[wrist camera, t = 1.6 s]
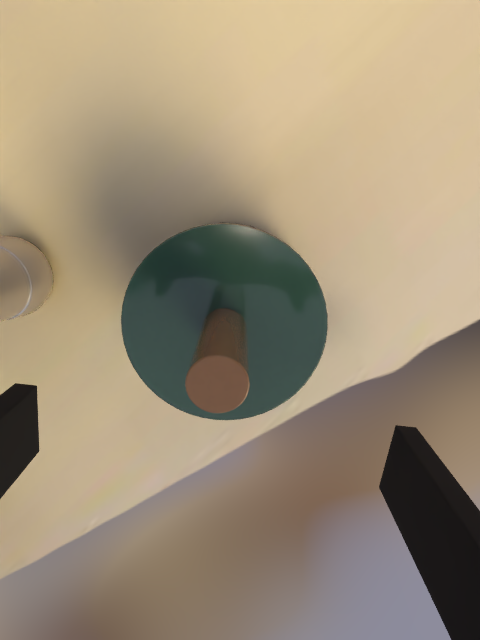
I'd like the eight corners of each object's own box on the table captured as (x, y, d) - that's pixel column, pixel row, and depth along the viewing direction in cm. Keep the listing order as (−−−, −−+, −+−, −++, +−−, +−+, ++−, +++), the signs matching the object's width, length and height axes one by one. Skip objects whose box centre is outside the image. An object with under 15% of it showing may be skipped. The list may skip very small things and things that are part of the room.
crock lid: (129, 210, 25) (67, 216, 16) (341, 236, 25) (396, 256, 16) (122, 401, 29) (70, 491, 20) (305, 420, 29) (334, 517, 20)
